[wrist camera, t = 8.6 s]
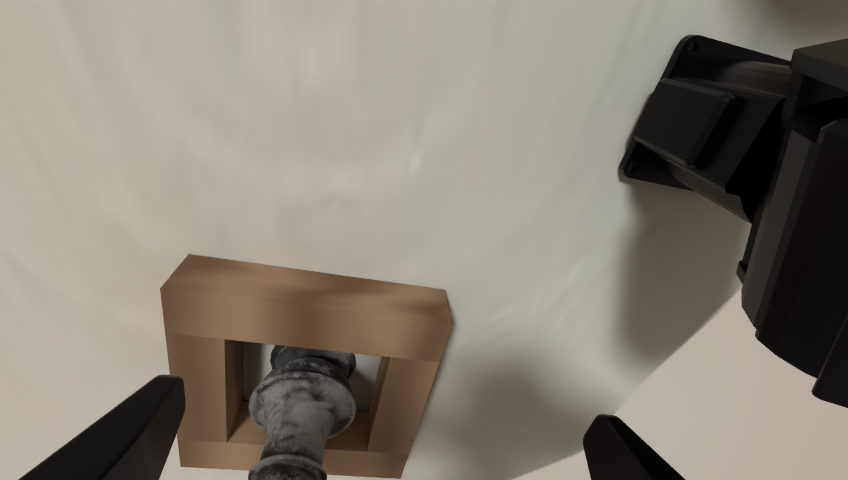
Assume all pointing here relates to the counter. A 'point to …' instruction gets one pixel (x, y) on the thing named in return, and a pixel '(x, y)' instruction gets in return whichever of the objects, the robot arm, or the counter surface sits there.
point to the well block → (307, 328)
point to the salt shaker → (301, 411)
